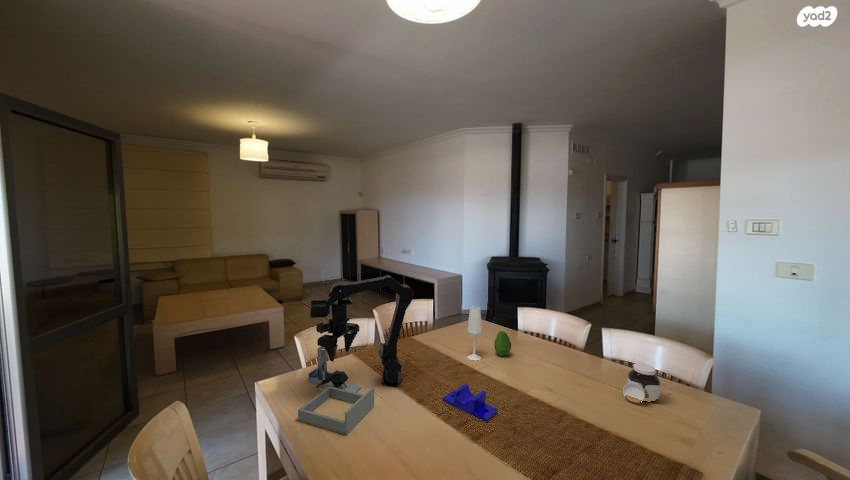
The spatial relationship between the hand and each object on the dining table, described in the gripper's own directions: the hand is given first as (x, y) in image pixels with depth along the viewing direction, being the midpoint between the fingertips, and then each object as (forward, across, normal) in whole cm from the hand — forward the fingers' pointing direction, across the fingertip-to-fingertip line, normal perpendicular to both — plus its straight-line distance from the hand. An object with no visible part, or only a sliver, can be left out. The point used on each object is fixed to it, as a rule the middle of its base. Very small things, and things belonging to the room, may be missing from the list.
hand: (339, 356), depth 125 cm
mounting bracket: (+14, -8, +49) cm, 51 cm away
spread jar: (+13, -37, +106) cm, 113 cm away
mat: (+13, 0, 0) cm, 13 cm away
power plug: (+13, +1, -3) cm, 13 cm away
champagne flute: (+13, -48, +41) cm, 64 cm away
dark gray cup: (+12, -4, -11) cm, 17 cm away
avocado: (+13, -56, +53) cm, 78 cm away
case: (+13, +13, +8) cm, 20 cm away
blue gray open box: (+13, -4, -11) cm, 17 cm away
